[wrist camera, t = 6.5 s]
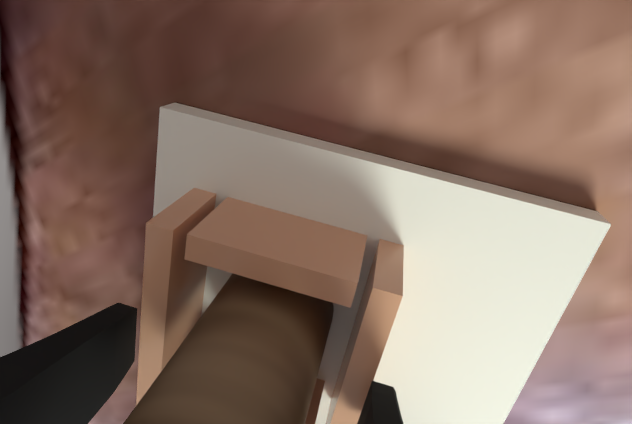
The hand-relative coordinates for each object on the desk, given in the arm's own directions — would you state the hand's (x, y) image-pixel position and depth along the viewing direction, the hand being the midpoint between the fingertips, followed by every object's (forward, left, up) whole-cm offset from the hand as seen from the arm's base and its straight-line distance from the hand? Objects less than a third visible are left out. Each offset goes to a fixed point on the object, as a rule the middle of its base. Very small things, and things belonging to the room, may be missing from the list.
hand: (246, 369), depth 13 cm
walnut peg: (0, 0, -3) cm, 3 cm away
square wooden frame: (0, 0, -4) cm, 4 cm away
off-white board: (-4, -2, -4) cm, 6 cm away
